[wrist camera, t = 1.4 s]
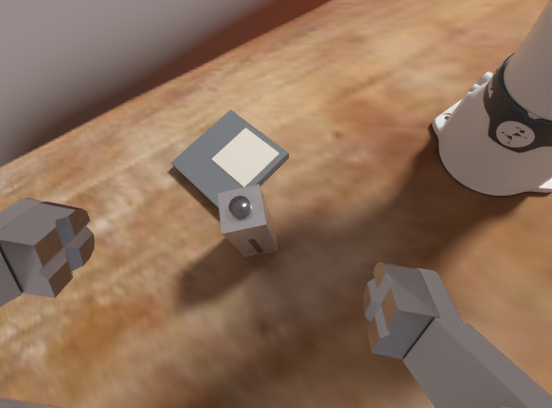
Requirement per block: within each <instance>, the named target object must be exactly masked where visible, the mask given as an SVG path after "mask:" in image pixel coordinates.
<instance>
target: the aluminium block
mask: <svg viewBox="0 0 552 408" xmlns="http://www.w3.org/2000/svg"><path fill="white" fill-rule="evenodd" d="M217 195H218V204H219V213H220V223H221V232H222V235H223V236H224V237H225V238H226V239H227V240H228V241H229V242H230V243H231V244H232V245H233V246H234V247H235V248H236V249H237V250H238V251H239V252H240V253H241V254H242V255H244V256H245V257H250V256H255V255H259V254H264V253H269V252H274V251H279V249H278V244H277V239H276V233H275V228H274V222H273V218H272V216H271V213H270V210H269V208H268V205H267V203H266V200H265V198H264V195H263V192H262V190H261V187H260V185H259V184H258V185H253V186H249V187H244V188H240V189H235V190H230V191H226V192H221V193H217Z"/></svg>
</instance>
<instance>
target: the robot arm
mask: <svg viewBox="0 0 552 408" xmlns="http://www.w3.org/2000/svg"><path fill="white" fill-rule="evenodd" d="M445 119H447V120H445ZM432 127H433V129H434V131H435V133H436V135H437V137H438V140H439V153H440V157H441V160H442V162H443V164H444V166H445V168H446V169H447V170H448V172H449V173H450V174H451V175H452V176H453V177H454V178H455V179H456V180H458V181H459V182H460V183H462V184H463V185H465V186H467V187H469V188H471V189H473V190H475V191H478V192H481V193H485V194H489V195H497V196H507V195H514V194H518V193H522V192H527V191H533V192H543V193H548V192H552V0H548V2H547V4H546V6H545V7H544V9H543V11H542V12H541V14H540V16H539V17H538V19H537V21H536V22H535V24H534V26H533V27H532V29H531V30H530V32H529V33H528V35H527V36H526V38H525V39H524V41H523V42H522V44H521V45H520V47H519V48H518V49H517V51H516V52H515V53H514V54H512V55H510V56H509V57H508V58H507V59H506V60H505V61H504V62H503V63H502V64H501V65H500V66H499V68H498V69H497V70H496V71H495V72H494V74H493V73H491V72H487V73H485V74H484V75H483V76H482V77H481V78H480V80H479V81H478V82H477V84H474V85H473V86H472V87H471V88H470V90H469V91H468V93H467V94H466V95H465V96H464V98H463V99H461V100H460V101H458V102H457V103H456V104H454V105H453V106H451V107H450V108H449V109H447V110H446V111H444V112H443V113H442V114H440V115H439V116H437V117H436V118H435V120H434V121H433V122H432ZM89 222H90V219H89V216H88V213H87V211H85V210H84V209H82V208H77V207H72V206H67V205H62V204H57V203H52V202H47V201H46V202H45V201H40V200H35V199H31V198H25V199H20V200H18V201H17V202H15V203H14V204H12V205H11V206H9V207H8V208H6V209H4V210H3V211H1V212H0V306H2V305H4V304H6V303H8V302H9V301H11V300H13V299H15V298H17V297H18V296H20V295H22V293H26V294H33V295H40V296H47V297H54V298H56V296H57V295H58V294H59V293H60V292H61V291H62V290H63V289H64V287H65V286H66V285H67V284H68V283H69V282H70V281H71V279H72V278H73V270H75V269H78V268H80V267H82V266H84V265H85V263H86V262H87V261H88V260H89V259H90V257H91V255H92V252H93V250H94V244H95V239H94V235H93V233H92V232H91V231H90V230H89V229H88V228H87V227H86V226H87V224H88V223H89ZM373 274H374V279H372V280H371V281H369V282H367V285H366V287H365V289H364V293H363V299H362V303H363V312H364V316H365V317H366V318H367V319H368V321H369V322H370V324H369V326H368V328H367V334H368V339H369V344H370V350H371V353H374V354H379V355H384V356H388V357H393V358H398V359H403V362H404V364H405V365H406V367H407V368H408V369H409V371H410V372H411V374H412V375H413V377H414V378H415V379H416V381H417V382H418V384H419V385H420V386H421V388H422V389H423V391H424V392H425V394H426V395H427V396H428V398H429V399H430V401H431V402H432V403H433V405H434V406H435V408H552V396H551V395H549V394H548V393H547V392H546V391H545V390H544V389H543V388H541V387H540V386H539V385H538V384H537V383H536V382H535V381H533V380H532V379H531V378H530V377H529V376H528V375H527V374H525V373H524V372H523V371H522V370H521V369H520V368H519V367H517V366H516V365H515V364H514V363H513V362H512V361H511V360H510V359H508V358H507V357H506V356H505V355H504V354H503V353H502V352H500V351H499V350H498V349H497V348H496V347H495V346H494V345H492V344H491V343H490V342H489V341H488V340H487V339H486V338H484V337H483V336H482V335H481V334H480V333H479V332H478V331H477V330H475V329H474V328H473V327H472V326H471V325H470V324H468V323H463V322H462V320H461V318H460V316H459V314H458V312H457V310H456V308H455V306H454V304H453V302H452V300H451V298H450V296H449V294H448V292H447V290H446V288H445V286H444V284H443V282H442V280H441V278H440V276H439V275H438V273H436V272H435V271H434V270H428V269H421V268H413V267H408V266H402V265H396V264H390V263H384V262H379V263H378V264H377V265H376V266H375V268H374V270H373ZM0 408H62V407H56V406H50V405H44V404H39V403H33V402H27V401H21V400H15V399H9V398H3V397H0Z"/></svg>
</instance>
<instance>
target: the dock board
mask: <svg viewBox="0 0 552 408" xmlns="http://www.w3.org/2000/svg"><path fill="white" fill-rule="evenodd" d="M288 158H289V154H288V152H286V151H285V150H284V149H282V148H281V147H280V146H278V145H277V144H276V143H274V142H273V141H272V140H270V139H269V138H268V137H266V136H265V135H264V134H262V133H261V132H260V131H258V130H257V129H256V128H254V127H253V126H252V125H250V124H249V123H248V122H246V121H245V120H244V119H242V118H241V117H240V116H238V115H237V114H236V113H234V112H233V111H232V110H230V111H229V112H228V113H226V114H225V115H224V116H223V117H222V118H221V119H220V120H219V121H217V122H216V123H215V124H214V125H213V126H212V127H211V128H209V129H208V130H207V131H206V132H205V133H204V134H203V135H202V136H200V137H199V138H198V139H197V140H196V141H195V142H194V143H193V144H191V145H190V146H189V147H188V148H187V149H186V150H185V151H183V152H182V153H181V154H180V155H179V156H178V157H177V158H176V159H174V160H173V161H172V162H171V164H172V165H173V166H174V167H175V168H176V169H177V170H178V171H179V172H180V173H181V174H183V175H184V176H185V177H186V178H187V179H188V180H189V181H190V182H191V183H192V184H193V185H194V186H195V187H196V188H197V189H198V190H199V191H201V192H202V193H203V194H204V195H205V196H206V197H207V198H208V199H209V200H210V201H211V202H212V203H213V204H214V205H215V206H216V207H217V208H219V204H218V195H217V193H221V192H226V191H230V190H235V189H240V188H244V187H249V186H253V185H258V184H259V185H260V186H261V185H262V184H263V183H264V182H265V181H266V180H267V179H268V178H269V177H270V176H271V175H272V174H273V173H274V172H275V171H276V170H277V169H278V168H279V167H280V166H281V165H282V164H283V163H284V162H285V161H286V160H287V159H288Z"/></svg>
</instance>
